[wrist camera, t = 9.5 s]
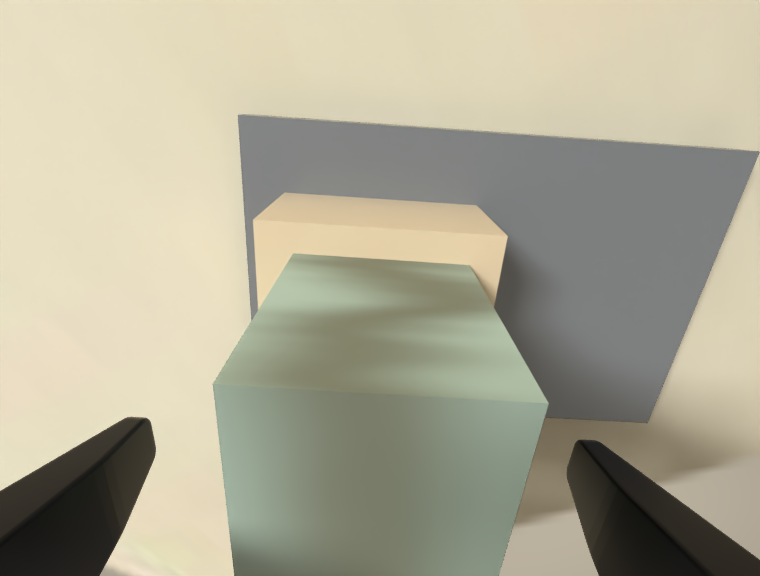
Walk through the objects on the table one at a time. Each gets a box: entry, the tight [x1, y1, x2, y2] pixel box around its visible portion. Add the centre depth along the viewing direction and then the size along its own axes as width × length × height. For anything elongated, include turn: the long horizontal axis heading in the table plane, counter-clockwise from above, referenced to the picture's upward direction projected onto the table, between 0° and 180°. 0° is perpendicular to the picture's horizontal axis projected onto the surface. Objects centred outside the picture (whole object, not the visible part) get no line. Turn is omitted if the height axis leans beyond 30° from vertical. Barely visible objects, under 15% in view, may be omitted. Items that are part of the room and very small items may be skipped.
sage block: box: [213, 253, 549, 576], centre depth 10 cm, size 5×5×6 cm
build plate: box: [238, 114, 759, 423], centre depth 15 cm, size 18×12×5 cm, turn 86°
